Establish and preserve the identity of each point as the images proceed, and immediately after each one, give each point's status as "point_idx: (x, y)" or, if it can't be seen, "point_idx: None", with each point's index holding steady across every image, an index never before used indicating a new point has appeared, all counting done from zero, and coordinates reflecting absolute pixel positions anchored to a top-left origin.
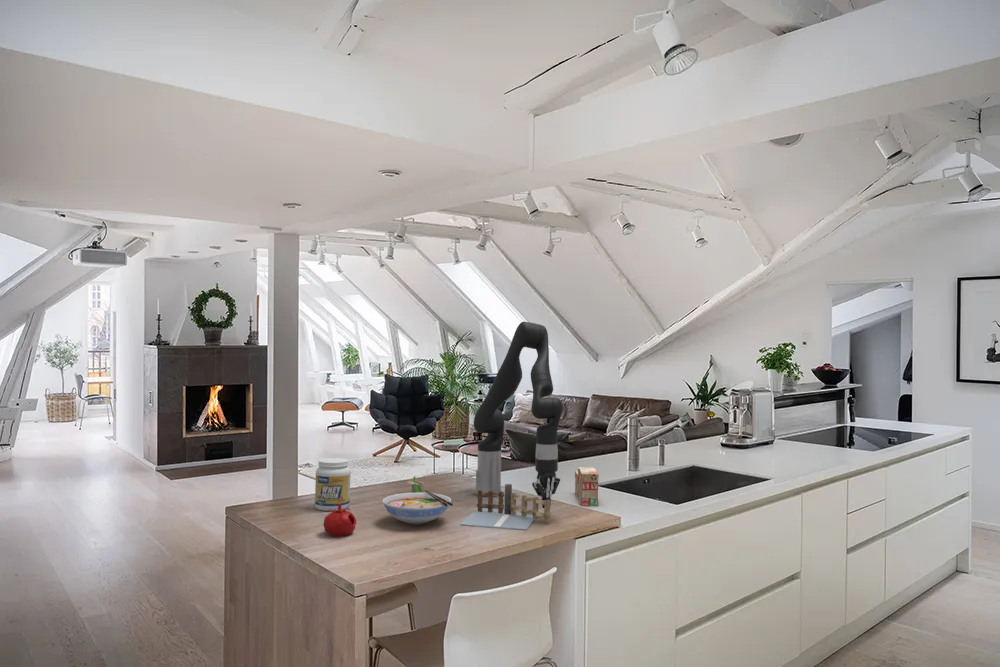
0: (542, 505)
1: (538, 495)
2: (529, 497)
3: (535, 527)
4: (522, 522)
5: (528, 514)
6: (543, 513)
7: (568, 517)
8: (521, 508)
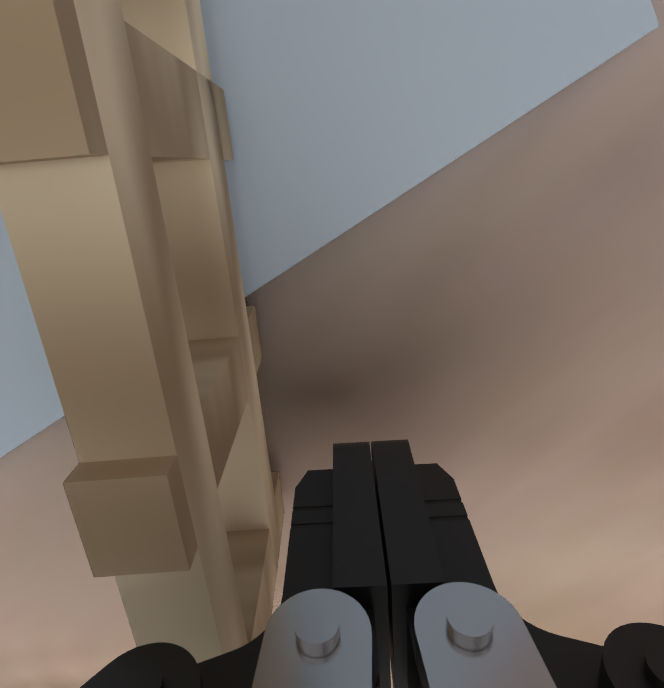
0: (295, 496)
1: (111, 685)
2: (104, 288)
3: (63, 492)
4: (13, 313)
5: (382, 45)
6: (241, 501)
7: (661, 453)
8: (168, 23)
